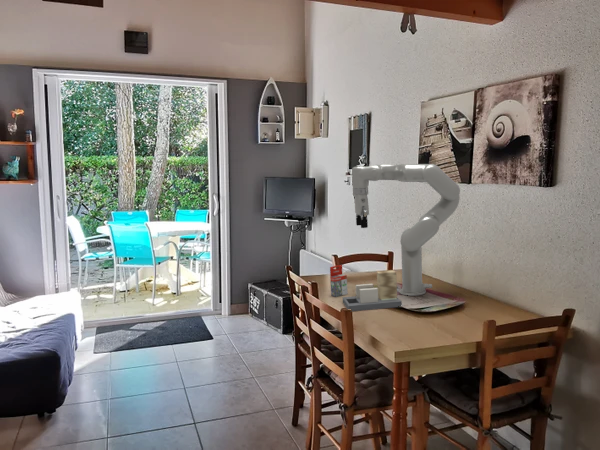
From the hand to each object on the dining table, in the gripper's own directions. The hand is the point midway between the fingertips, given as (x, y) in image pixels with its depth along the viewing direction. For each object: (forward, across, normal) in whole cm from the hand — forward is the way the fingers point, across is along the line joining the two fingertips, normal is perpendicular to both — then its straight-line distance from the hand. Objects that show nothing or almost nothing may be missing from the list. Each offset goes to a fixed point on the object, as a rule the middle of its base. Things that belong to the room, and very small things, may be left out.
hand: (361, 226), depth 235 cm
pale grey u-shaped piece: (+31, -21, +4) cm, 37 cm away
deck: (+33, -21, +2) cm, 39 cm away
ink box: (+34, -1, +13) cm, 36 cm away
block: (+31, -21, -6) cm, 37 cm away
